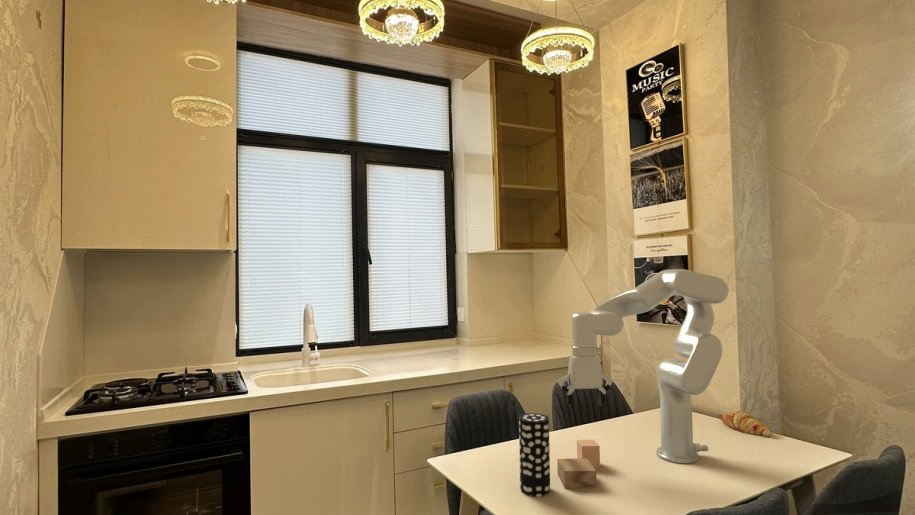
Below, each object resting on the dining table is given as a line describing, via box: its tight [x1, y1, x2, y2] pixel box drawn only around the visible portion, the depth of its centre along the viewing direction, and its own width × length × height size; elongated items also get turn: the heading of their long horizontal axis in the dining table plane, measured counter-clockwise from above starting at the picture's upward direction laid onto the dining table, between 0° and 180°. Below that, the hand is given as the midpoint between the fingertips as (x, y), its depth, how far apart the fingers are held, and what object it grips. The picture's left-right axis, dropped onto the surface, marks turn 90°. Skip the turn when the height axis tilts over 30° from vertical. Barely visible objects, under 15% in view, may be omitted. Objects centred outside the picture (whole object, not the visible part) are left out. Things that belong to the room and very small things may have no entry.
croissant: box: [718, 410, 772, 437], centre depth 184 cm, size 21×10×8 cm, turn 23°
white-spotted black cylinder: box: [518, 412, 551, 497], centre depth 135 cm, size 8×8×20 cm
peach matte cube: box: [576, 439, 601, 470], centre depth 152 cm, size 6×6×7 cm
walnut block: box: [556, 458, 597, 489], centre depth 140 cm, size 9×9×5 cm
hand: (586, 406), depth 152 cm, fingers open, 9 cm apart
